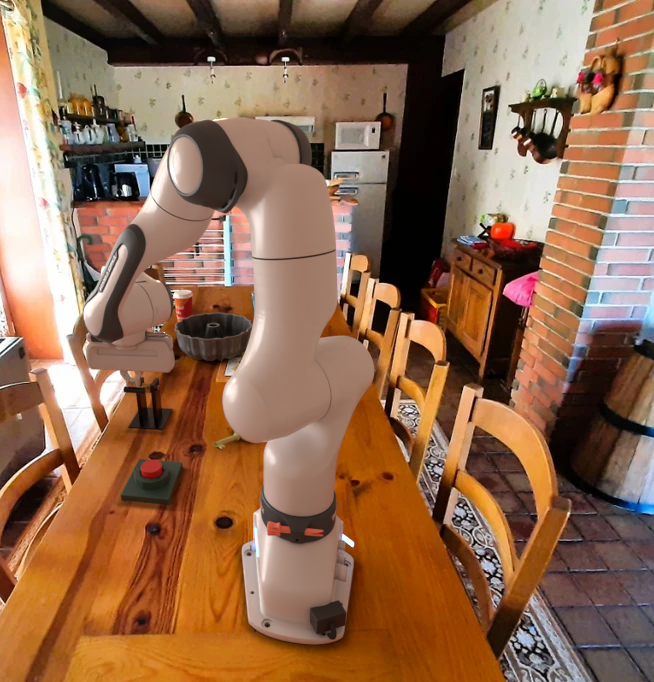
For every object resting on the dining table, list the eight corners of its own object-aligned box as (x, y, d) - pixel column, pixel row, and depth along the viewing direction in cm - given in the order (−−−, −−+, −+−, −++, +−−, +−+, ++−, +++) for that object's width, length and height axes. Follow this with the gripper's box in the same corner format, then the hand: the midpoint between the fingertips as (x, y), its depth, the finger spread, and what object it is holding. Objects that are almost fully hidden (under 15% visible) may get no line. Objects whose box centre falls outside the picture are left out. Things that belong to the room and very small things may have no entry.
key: (212, 450, 113) (212, 443, 112) (239, 426, 122) (239, 418, 122) (238, 460, 109) (238, 452, 109) (264, 434, 119) (264, 426, 118)
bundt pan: (223, 331, 183) (222, 306, 179) (269, 353, 163) (269, 325, 159) (162, 349, 170) (160, 323, 167) (204, 375, 150) (202, 346, 146)
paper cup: (172, 325, 193) (169, 291, 187) (190, 321, 196) (188, 288, 190) (180, 331, 186) (177, 296, 181) (198, 327, 189) (196, 292, 184)
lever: (143, 395, 112) (143, 385, 112) (123, 394, 113) (123, 384, 113) (158, 392, 124) (158, 383, 124) (139, 391, 125) (140, 382, 125)
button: (159, 480, 99) (158, 473, 98) (138, 478, 100) (137, 471, 99) (165, 467, 103) (164, 460, 102) (145, 465, 104) (144, 458, 103)
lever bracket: (162, 433, 121) (158, 391, 117) (128, 430, 123) (123, 389, 119) (172, 412, 130) (169, 373, 126) (140, 410, 132) (136, 372, 128)
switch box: (169, 508, 96) (167, 492, 95) (121, 503, 98) (119, 487, 97) (182, 470, 107) (181, 455, 106) (139, 467, 109) (138, 452, 108)
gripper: (175, 326, 108) (180, 381, 113) (90, 325, 112) (98, 378, 118) (168, 337, 102) (173, 394, 108) (79, 335, 107) (88, 390, 112)
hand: (133, 386), depth 113 cm, fingers closed
